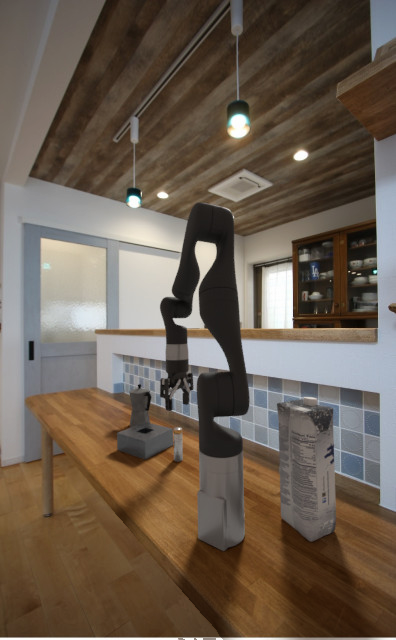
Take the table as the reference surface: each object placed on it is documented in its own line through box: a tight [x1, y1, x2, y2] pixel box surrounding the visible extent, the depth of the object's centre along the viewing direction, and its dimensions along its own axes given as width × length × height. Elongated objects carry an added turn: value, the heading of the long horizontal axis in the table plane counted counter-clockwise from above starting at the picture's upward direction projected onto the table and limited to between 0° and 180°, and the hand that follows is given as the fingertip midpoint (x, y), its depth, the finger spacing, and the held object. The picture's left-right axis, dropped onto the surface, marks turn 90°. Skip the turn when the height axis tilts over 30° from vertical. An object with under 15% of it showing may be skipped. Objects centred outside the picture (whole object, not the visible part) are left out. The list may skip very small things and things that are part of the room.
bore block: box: [116, 422, 174, 460], centre depth 105 cm, size 14×14×6 cm
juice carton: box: [276, 396, 337, 543], centre depth 63 cm, size 9×10×27 cm
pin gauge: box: [172, 426, 184, 463], centre depth 95 cm, size 3×3×10 cm
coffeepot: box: [128, 383, 152, 428], centre depth 129 cm, size 15×9×18 cm, turn 43°
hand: (177, 407), depth 95 cm, fingers open, 8 cm apart
